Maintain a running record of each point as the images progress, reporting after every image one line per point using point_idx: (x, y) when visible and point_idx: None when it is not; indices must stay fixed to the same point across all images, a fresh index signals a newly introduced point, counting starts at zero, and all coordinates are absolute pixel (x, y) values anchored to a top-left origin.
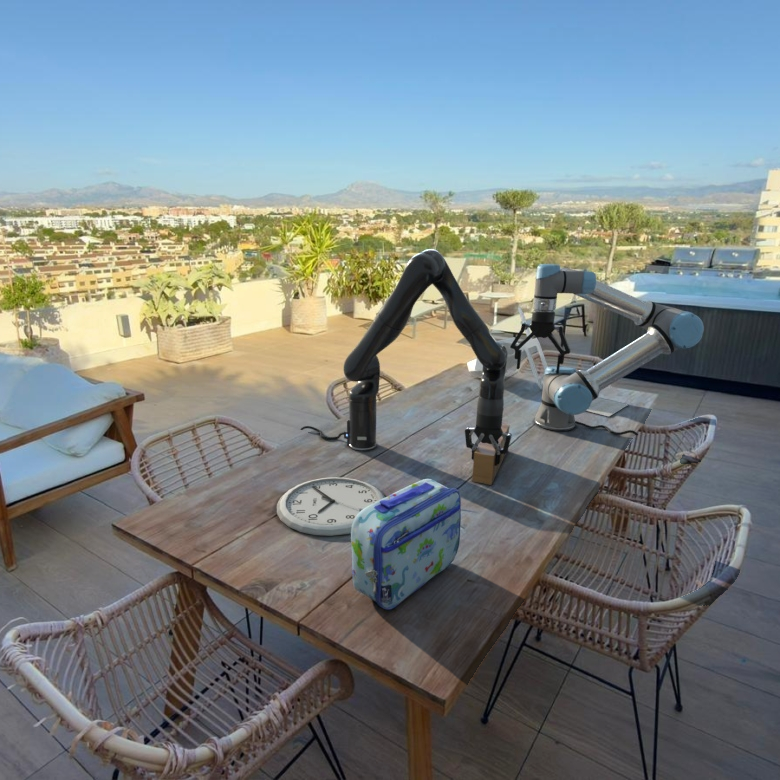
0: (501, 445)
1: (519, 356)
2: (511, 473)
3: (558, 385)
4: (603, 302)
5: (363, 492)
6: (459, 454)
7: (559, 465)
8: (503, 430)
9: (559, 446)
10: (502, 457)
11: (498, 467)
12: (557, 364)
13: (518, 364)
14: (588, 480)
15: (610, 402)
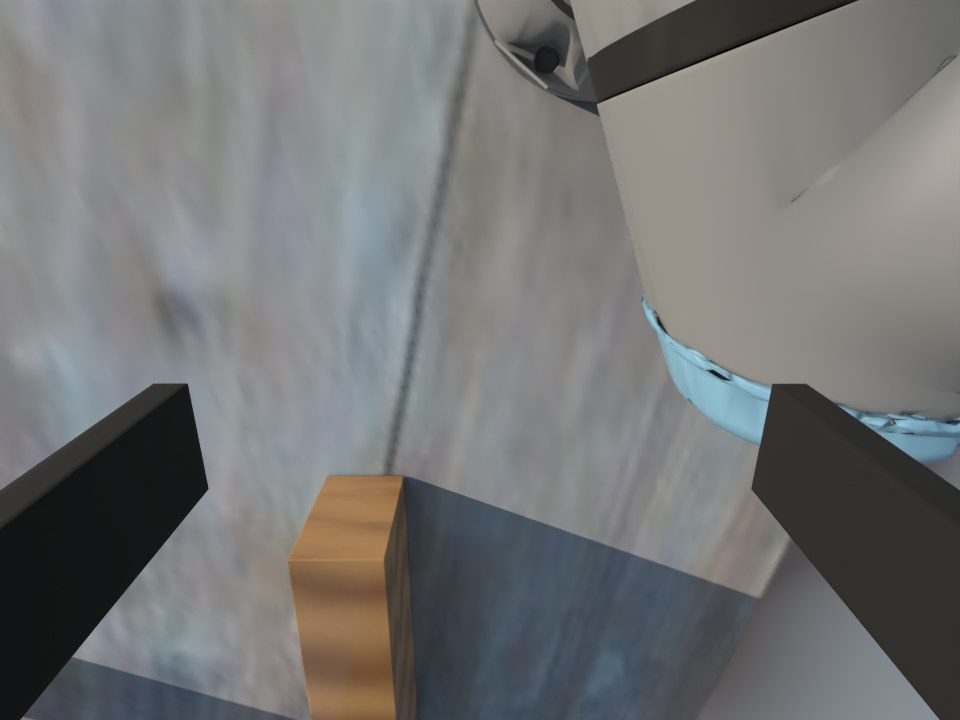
0: (400, 703)
1: (64, 654)
2: (462, 644)
3: (726, 307)
4: None
5: None
6: (235, 576)
7: (630, 527)
8: (374, 634)
9: (633, 331)
10: (407, 590)
11: (412, 648)
12: (837, 589)
13: (159, 535)
14: (730, 601)
15: None
